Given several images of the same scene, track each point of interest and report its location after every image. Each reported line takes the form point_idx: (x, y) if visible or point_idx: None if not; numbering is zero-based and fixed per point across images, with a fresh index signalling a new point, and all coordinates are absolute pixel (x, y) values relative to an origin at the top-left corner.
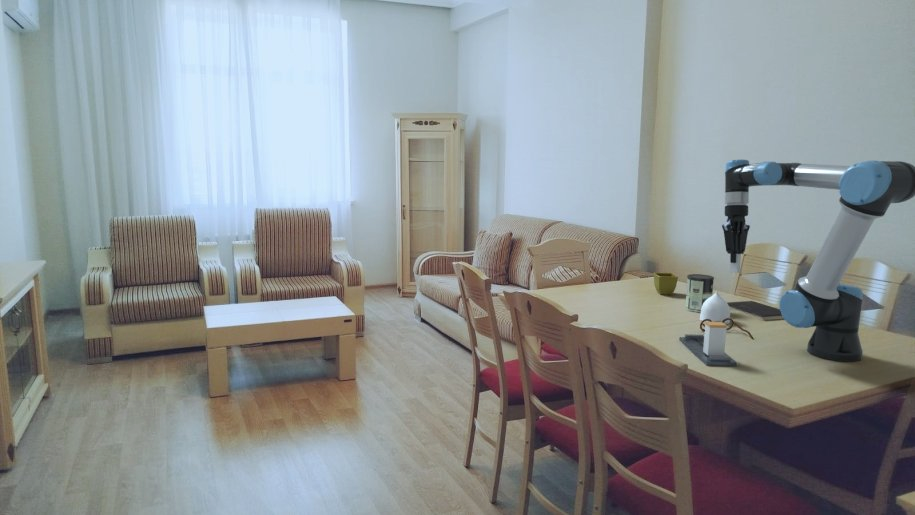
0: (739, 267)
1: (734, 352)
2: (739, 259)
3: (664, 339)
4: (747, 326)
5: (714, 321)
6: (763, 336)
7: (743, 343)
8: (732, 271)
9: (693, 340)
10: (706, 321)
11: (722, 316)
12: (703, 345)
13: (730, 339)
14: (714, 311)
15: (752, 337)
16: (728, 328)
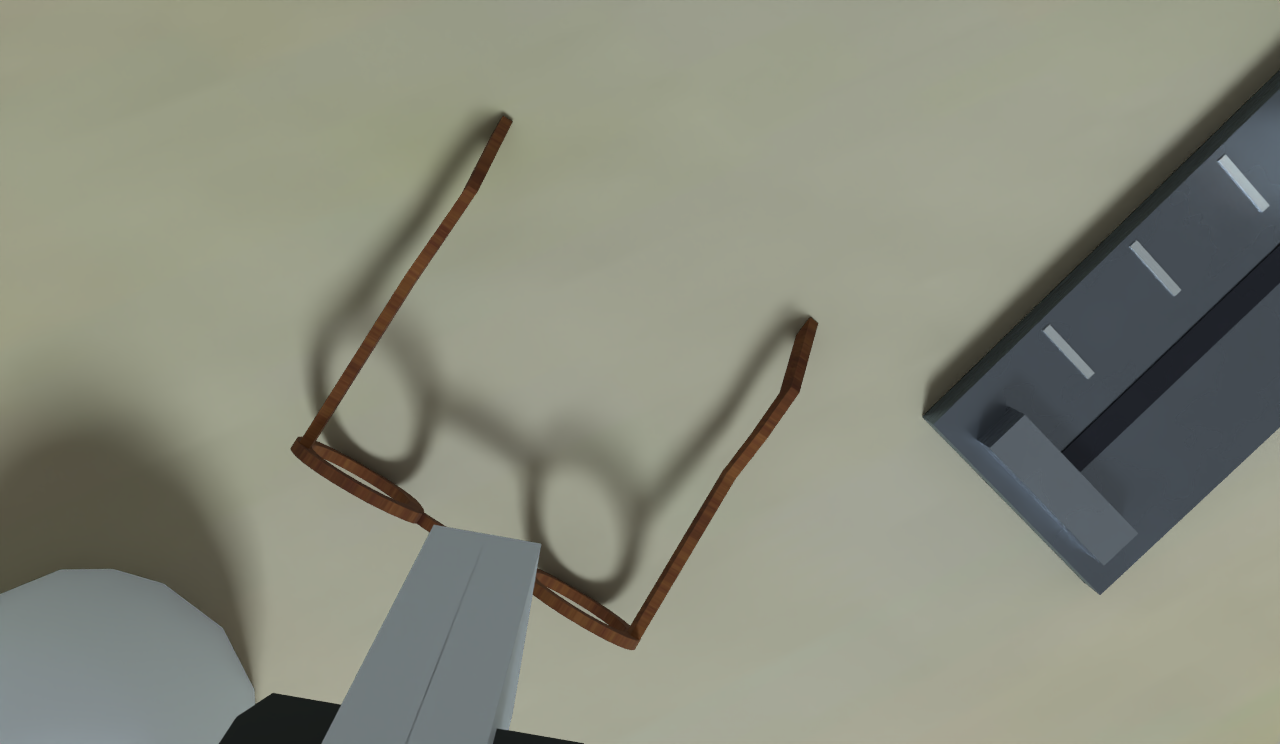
0: (430, 589)
1: (1089, 65)
2: (376, 727)
3: (1144, 682)
4: (39, 381)
5: None
6: (302, 96)
7: (728, 133)
8: (518, 676)
9: (1115, 455)
10: None
11: (147, 636)
12: (1218, 312)
13: (687, 282)
14: (186, 732)
15: (499, 135)
16: (348, 458)
